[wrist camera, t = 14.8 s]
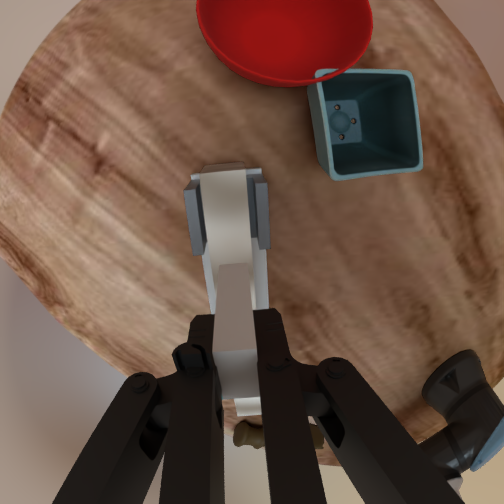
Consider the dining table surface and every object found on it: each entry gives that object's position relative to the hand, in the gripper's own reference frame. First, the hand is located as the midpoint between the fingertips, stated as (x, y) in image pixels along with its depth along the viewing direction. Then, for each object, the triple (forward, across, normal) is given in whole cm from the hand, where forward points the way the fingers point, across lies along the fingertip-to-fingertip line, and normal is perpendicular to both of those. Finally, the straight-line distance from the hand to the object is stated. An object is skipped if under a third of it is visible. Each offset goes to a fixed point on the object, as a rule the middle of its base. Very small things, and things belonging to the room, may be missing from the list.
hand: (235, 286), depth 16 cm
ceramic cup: (+17, -5, -20) cm, 26 cm away
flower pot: (+17, -12, -9) cm, 22 cm away
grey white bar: (+13, 0, +10) cm, 17 cm away
